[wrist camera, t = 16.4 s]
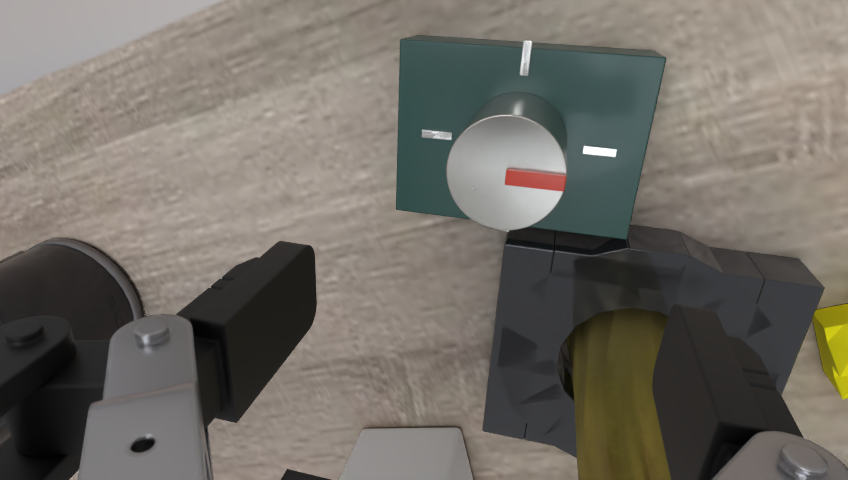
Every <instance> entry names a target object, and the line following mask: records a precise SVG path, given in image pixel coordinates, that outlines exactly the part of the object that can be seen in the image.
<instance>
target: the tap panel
mask: <svg viewBox="0 0 848 480" xmlns="http://www.w3.org/2000/svg"><path fill="white" fill-rule="evenodd" d="M665 62H666V57H664V56H662V55H661V54H659V53H658V52H656V51H652V50H636V49H621V48H606V47H591V46H576V45H561V44H546V43H532V40H524V41H523V42H516V41H501V40H486V39H471V38H456V37H441V36H425V35H416V36H412V37H408V38H404V39H401V40H400V70H399V110H398V149H397V189H396V210H403V211H411V212H418V213H426V214H433V215H441V216H449V217H456V218H464V219H470V218H469V217H468V216H467V215H465V214H464V213H463V212H462V211H461V210H460V208H459V207H458V206H457V204H456V203H455V201H454V200H453V198H452V196H451V193H450V191H449V188H448V184H447V178H446V165H447V159H448V155H449V152H450V150H451V148H452V146H453V144H454V142H455V141H456V139H457V138H458V136H459V135H460V134H461V133H462V131H463V130H464V129H465V127H466V126H467V125H468V123H469V122H470V121H471V119H472V118H473V117H474V116H475V114H476V113H477V112H478V110H479V109H480V108H481V107H482V106H483V105H484V104H486V103H487V102H488V101H490V100H491V99H493V98H495V97H497V96H500V95H502V94H506V93H513V92H523V93H529V94H532V95H536V96H538V97H540V98H542V99H544V100H545V101H547V102H548V103H549V104H551V105H552V106H553V107H554V108H555V110H556V111H557V112H558V113H559V115H560V116H561V118H562V120H563V123H564V126H565V129H566V134H567V182H566V186H565V190H564V193H563V195H562V197H561V199H560V201H559V203H558V204H557V206H556V207H555V208H554V210H553V211H552V212H551V213H550V214H549V215H548V216H546V217H545V218H544V219H543V220H541V221H539V222H538V223H536V224H534V225H531V226H529V227H533V228H541V229H548V230H556V231H564V232H571V233H579V234H587V235H594V236H602V237H610V238H617V239H627V235H628V230H629V226H630V221H631V217H632V212H633V208H634V203H635V199H636V194H637V190H638V185H639V180H640V176H641V171H642V167H643V162H644V158H645V153H646V149H647V144H648V140H649V135H650V131H651V126H652V121H653V117H654V112H655V108H656V103H657V99H658V94H659V90H660V85H661V81H662V76H663V71H664V67H665ZM502 231H506V232H509V231H510V230H502Z"/></svg>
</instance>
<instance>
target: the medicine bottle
mask: <svg viewBox="0 0 848 480" xmlns="http://www.w3.org/2000/svg"><path fill="white" fill-rule="evenodd" d="M339 480H473V476H472V472H471V468H470V464H469V460H468V456H467V452H466V448H465V444H464V440H463V436H462V432H461V430H460V429H459V428H456V427H447V428H375V429H363V430H362V431H361V433H360V435H359V437H358V439H357V441H356V443H355V446H354V448H353V450H352V452H351V454H350V456H349V458H348V460H347V463H346V465H345V467H344V469H343V471H342V473H341V475H340V478H339Z"/></svg>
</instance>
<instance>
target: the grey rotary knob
mask: <svg viewBox="0 0 848 480" xmlns="http://www.w3.org/2000/svg"><path fill="white" fill-rule="evenodd" d="M446 178H447V184H448V188H449V191H450V193H451V196H452V198H453V200H454V201H455V203H456V204H457V206H458V207H459V208H460V210H461V211H462V212H463V213H464V214H465V215H467V216H468V217H469V218H470V219H472V220H473V221H475V222H477V223H479V224H481V225H483V226H485V227H489V228H492V229H497V230H517V229H522V228H526V227H529V226H531V225H534V224H536V223H538V222H539V221H541V220H543V219H544V218H545V217H546V216H548V215H549V214H550V213H551V212H552V211H553V210H554V208H555V207H556V206H557V204H558V203H559V201H560V199H561V197H562V195H563V193H564V190H565V186H566V182H567V134H566V129H565V126H564V123H563V120H562V118H561V116H560V115H559V113H558V112H557V111H556V110H555V108H554V107H553V106H552V105H551V104H549V103H548V102H547V101H545V100H544V99H542V98H540V97H538V96H536V95H532V94H529V93H523V92H513V93H506V94H502V95H500V96H497V97H495V98H493V99H491V100H490V101H488V102H487V103H486V104H484V105H483V106H482V107H481V108H480V109H479V110H478V112H477V113H476V114H475V116H474V117H473V118H472V119H471V121H470V122H469V123H468V125H467V126H466V127H465V129H464V130H463V131H462V133H461V134H460V135H459V136H458V138H457V139H456V141H455V142H454V144H453V146H452V148H451V150H450V152H449V155H448V159H447V165H446Z"/></svg>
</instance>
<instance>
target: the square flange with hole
mask: <svg viewBox="0 0 848 480" xmlns="http://www.w3.org/2000/svg"><path fill="white" fill-rule="evenodd" d="M823 291H824V286H823V285H822V284H821V283H820V282H819V281H818V280H817V278H816V277H815V276H814V275H813V274H812V273H811V272H810V271H809V269H808V268H807V267H806V266H805V265H804V264H803V263H802V262H801V260H800V259H798V258H790V257H782V256H774V255H767V254H759V253H751V252H743V251H736V250H728V249H720V248H712V247H707V246H706V245H704V244H702V243H700V242H698V241H696V240H694V239H692V238H691V237H689V236H687V235H685V234H683V233H681V232H678V231H673V230H665V229H657V228H649V227H641V226H633V225H630V226H629V230H628V235H627V239H617V238H610V237H602V236H594V235H587V234H579V233H571V232H564V231H556V230H548V229H541V228H533V227H526V228H522V229H517V230H510V231H509V232H507V235H506V239H505V243H504V250H503V259H502V267H501V276H500V284H499V293H498V301H497V310H496V318H495V327H494V335H493V344H492V352H491V361H490V369H489V378H488V386H487V395H486V403H485V412H484V420H483V429H482V430H483V431H484V432H489V433H494V434H499V435H504V436H509V437H513V438H518V439H525V440H528V441H533V442H538V443H543V444H548V445H552V446H555V447H557V448H559V449H561V450H563V451H565V452H567V453H568V454H570V455H572V456H574V457H576V458H577V447H576V423H575V400H574V390H573V380H572V366H571V365H570V363H569V362H568V361H567V360H566V359H565V358H564V355H563V352H562V348H561V346H562V344H563V343H564V342H565V340H566V339H567V338H568V336H569V335H570V334H571V332H572V331H573V330H574V328H575V327H576V326H578V325H579V324H581V323H583V322H585V321H586V320H588V319H590V318H592V317H593V316H595V315H597V314H599V313H603V312H609V311H615V310H621V309H626V308H635V309H641V310H648V311H654V312H660V313H662V314H664V315H666V316H669V313H670V310H671V308H672V306H673V305H674V304H682V305H688V306H695V307H701V308H708V309H713V310H715V311H716V313H717V315H718V317H719V319H720V321H721V324H722V326H723V328H724V330H725V332H726V334H727V336H732V337H738V338H741V339H742V340H743V341H744V342H745V343H747V344H748V345H749V346H750V347H751V348H752V349H753V350H754V351H756V352H757V353H758V354H759V355H760V357H761V359H762V361H763V363H764V364H765V366H766V368H767V370H768V372H769V376H771V378H772V379H773V381H774V383H775V385H776V387H777V391H779V393H780V394H781V395H782V392H783V390H784V388H785V385H786V383H787V380H788V378H789V375H790V373H791V370H792V368H793V365H794V363H795V360H796V358H797V355H798V353H799V350H800V348H801V345H802V343H803V340H804V338H805V336H806V333H807V331H808V328H809V326H810V323H811V321H812V318H813V316H814V313H815V311H816V308H817V306H818V303H819V301H820V298H821V296H822V293H823Z"/></svg>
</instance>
